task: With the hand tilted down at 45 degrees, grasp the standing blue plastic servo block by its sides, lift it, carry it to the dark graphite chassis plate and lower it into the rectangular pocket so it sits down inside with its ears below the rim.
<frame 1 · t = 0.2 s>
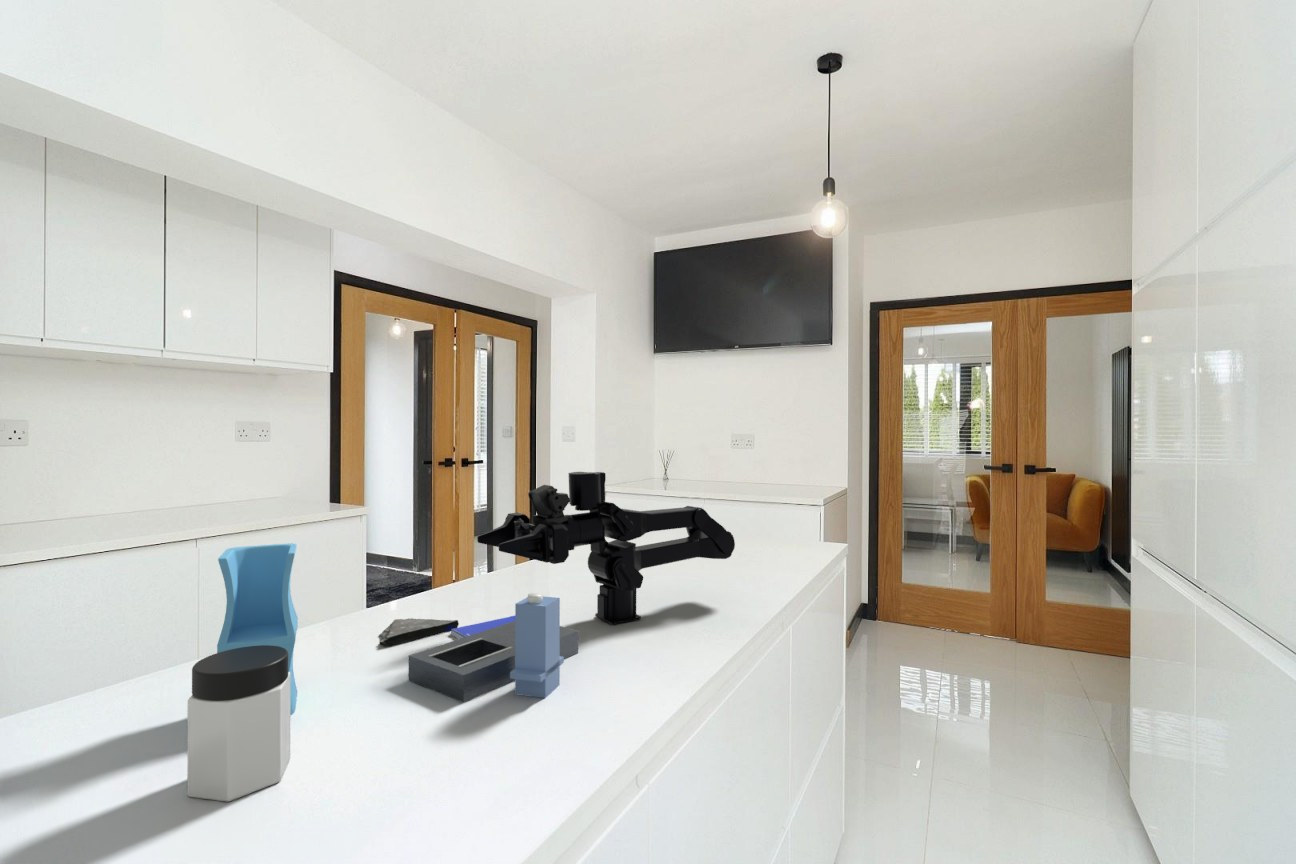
hand: (487, 543, 101), 17 cm above the counter, tool horizontal, fingers open, 9 cm apart
chassis plate: (498, 665, 92), on the counter
vase: (260, 711, 77), on the counter
hard drive: (494, 636, 107), on the counter
stone: (412, 636, 107), on the counter
jar: (241, 779, 62), on the counter
servo: (537, 689, 83), on the counter
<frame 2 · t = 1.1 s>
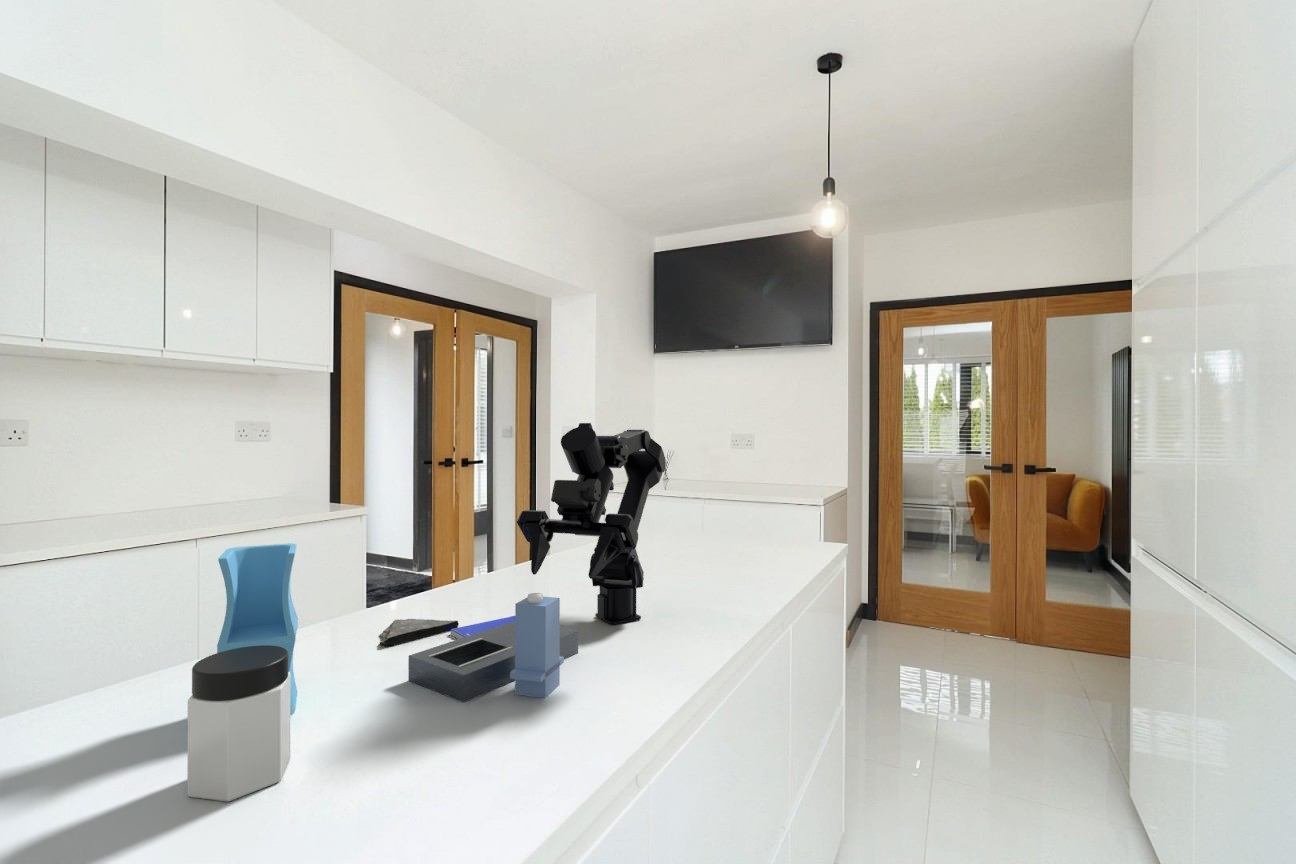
hand: (561, 575, 91), 14 cm above the counter, tool tilted 45°, fingers open, 9 cm apart
nothing on the counter moved.
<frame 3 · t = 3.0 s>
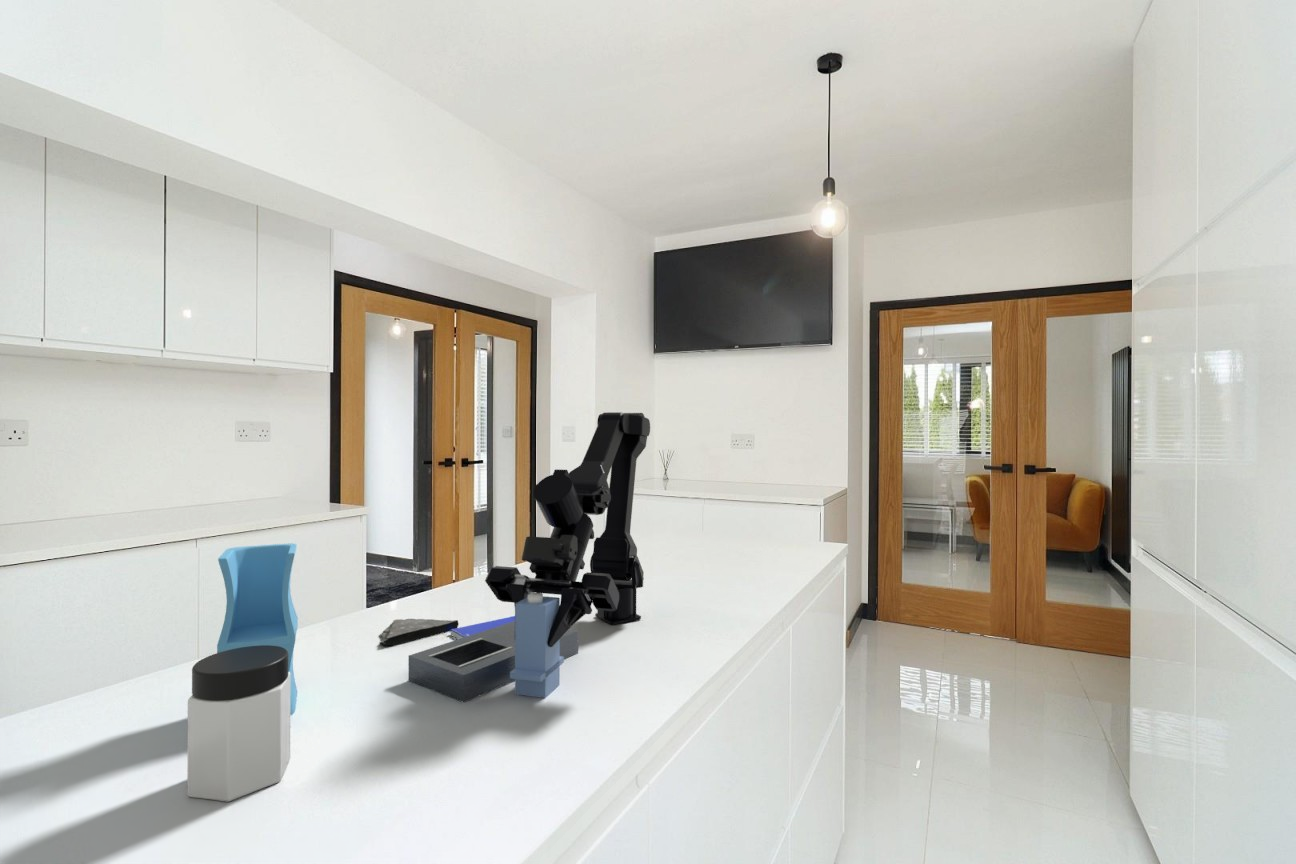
hand: (533, 643, 82), 7 cm above the counter, tool tilted 45°, fingers closed on servo, 4 cm apart
servo: (537, 689, 83), on the counter, touching gripper
everything else where it was.
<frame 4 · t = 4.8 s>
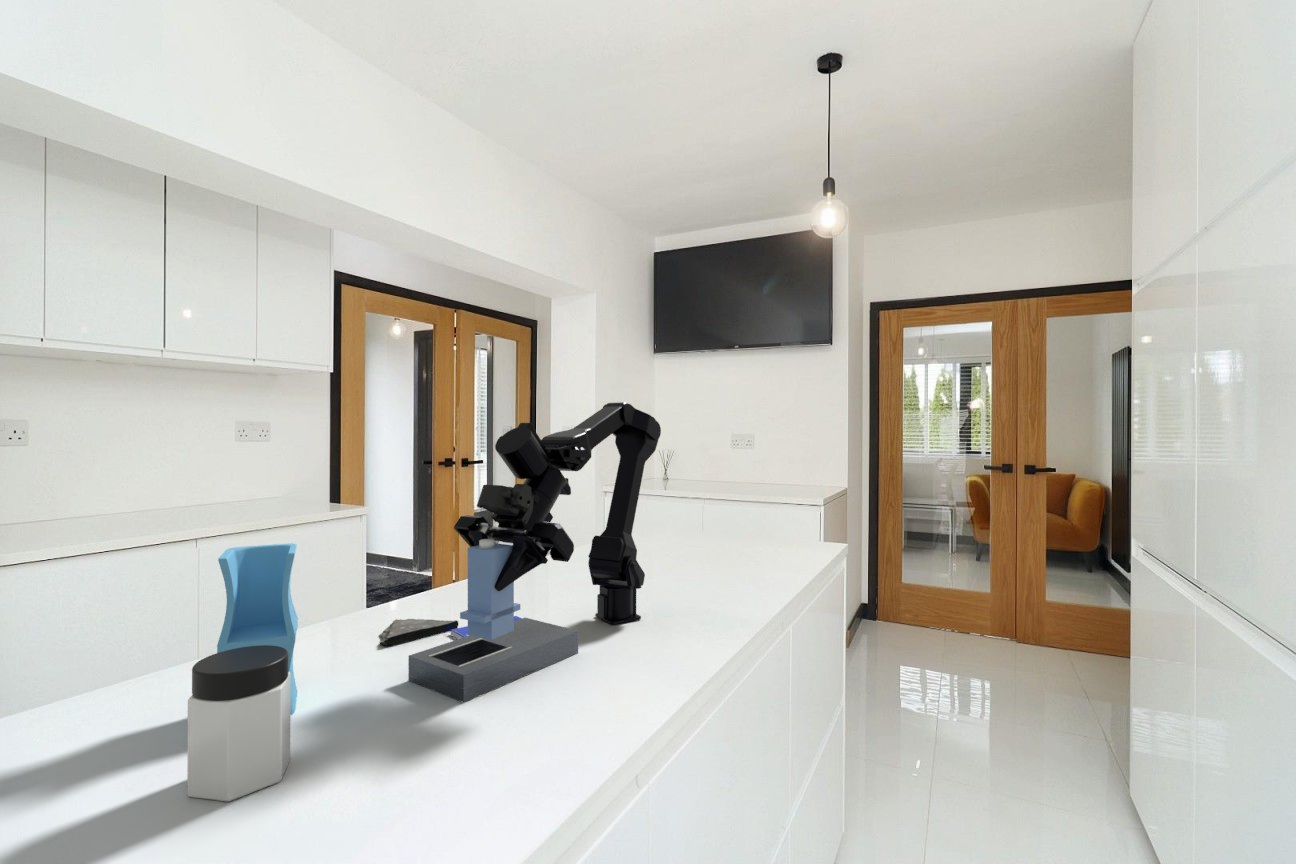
hand: (483, 587, 85), 13 cm above the counter, tool tilted 45°, fingers closed on servo, 4 cm apart
servo: (490, 632, 86), point 7 cm above the counter, touching gripper
everything else where it was.
when the fingers open (8 cm above the counter, at t = 6.4 s): servo drops 2 cm, resting in chassis plate.
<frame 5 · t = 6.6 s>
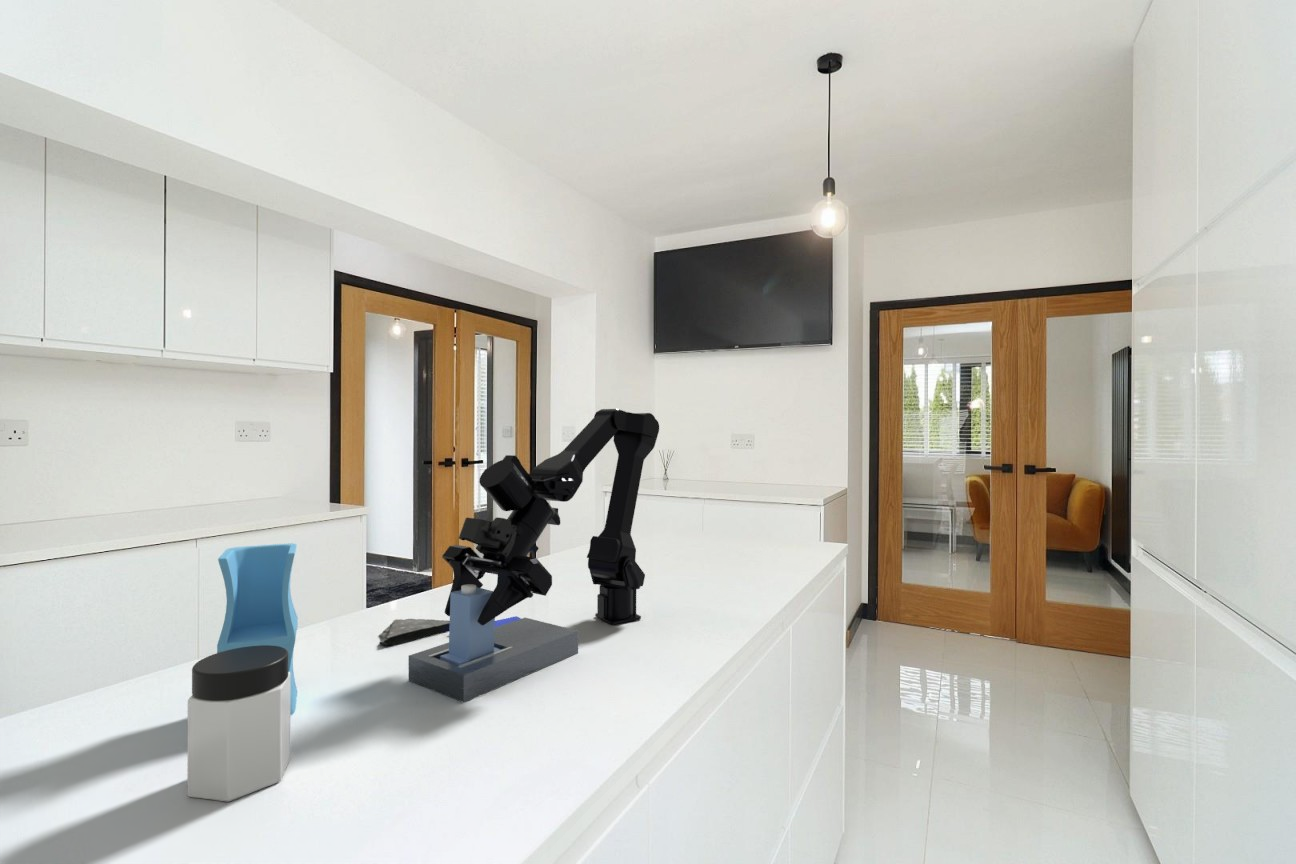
hand: (463, 619, 87), 9 cm above the counter, tool tilted 45°, fingers open, 7 cm apart
servo: (470, 676, 88), resting in chassis plate
everything else where it was.
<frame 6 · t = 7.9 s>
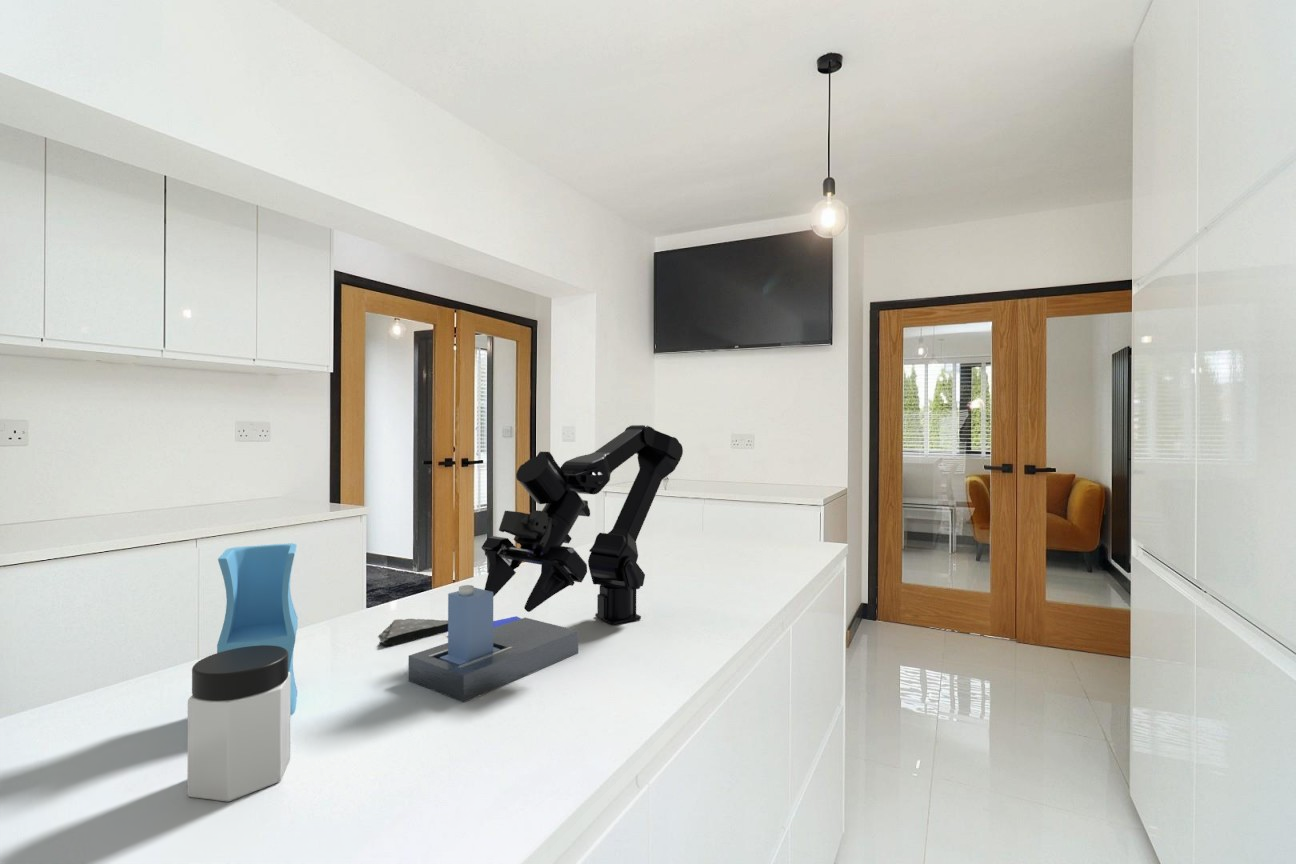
hand: (505, 605, 93), 9 cm above the counter, tool tilted 45°, fingers open, 9 cm apart
nothing on the counter moved.
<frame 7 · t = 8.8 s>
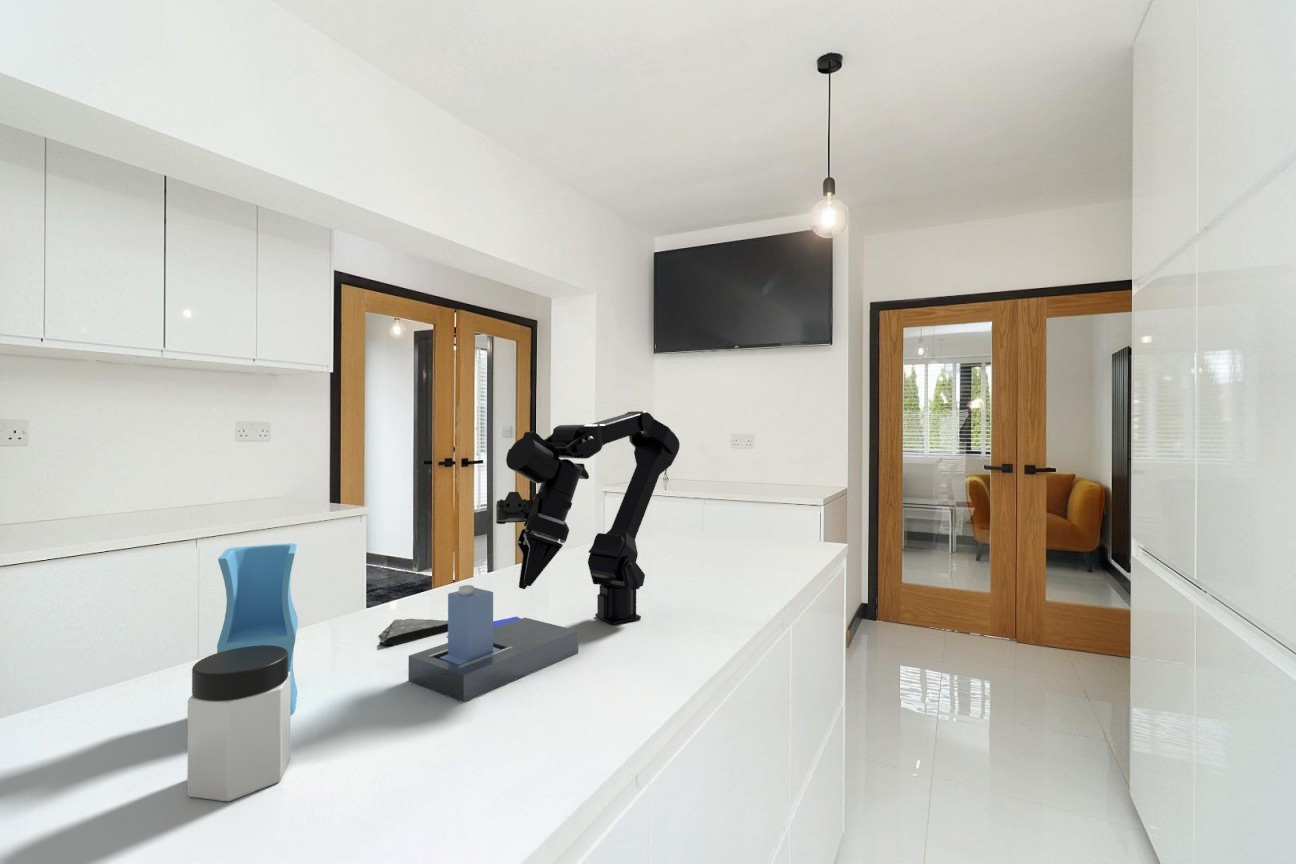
hand: (524, 587, 97), 11 cm above the counter, tool tilted 25°, fingers open, 9 cm apart
nothing on the counter moved.
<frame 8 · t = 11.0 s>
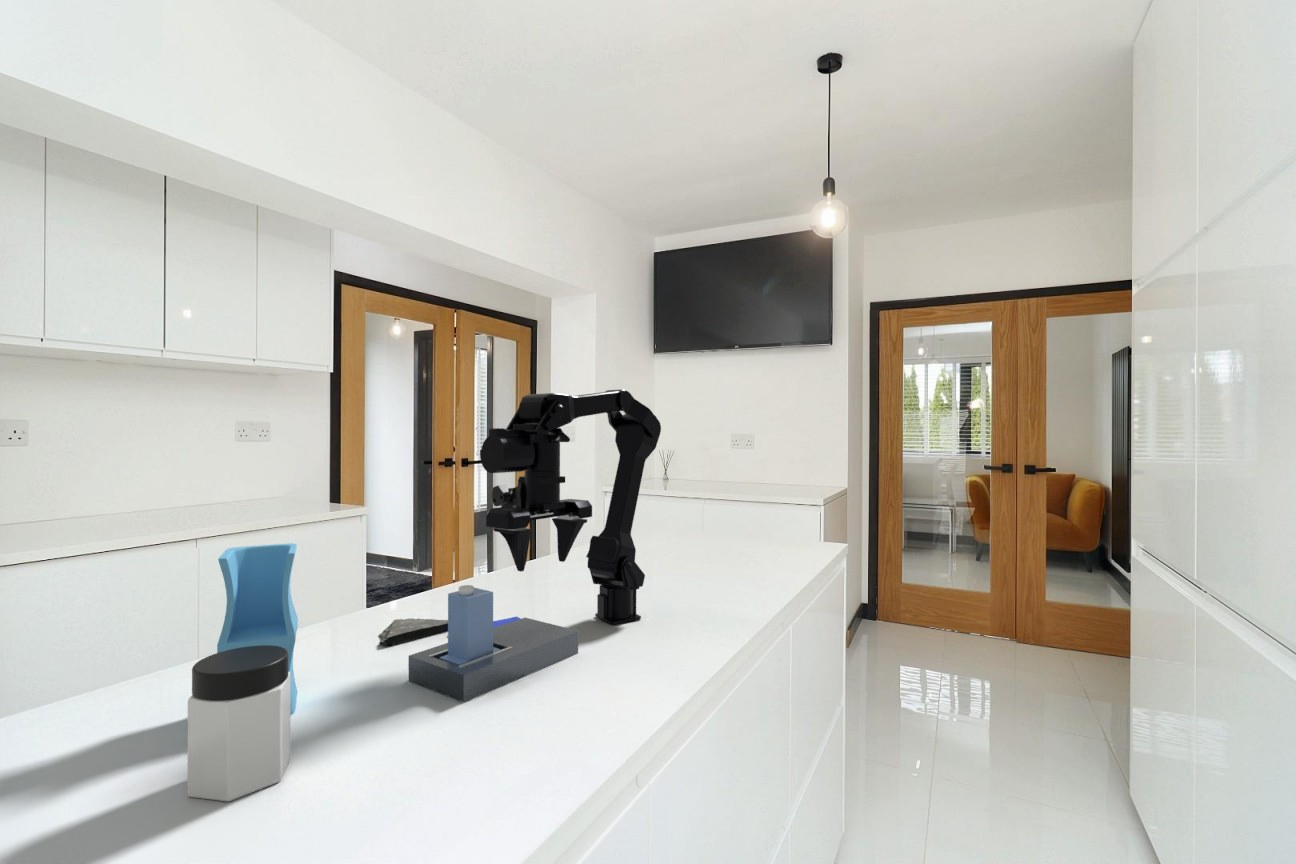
hand: (542, 566, 101), 13 cm above the counter, tool pointing down, fingers open, 9 cm apart
nothing on the counter moved.
at the end: servo 0.1 cm from the target spot, resting in chassis plate; servo tilted 0°; the gripper is holding nothing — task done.
